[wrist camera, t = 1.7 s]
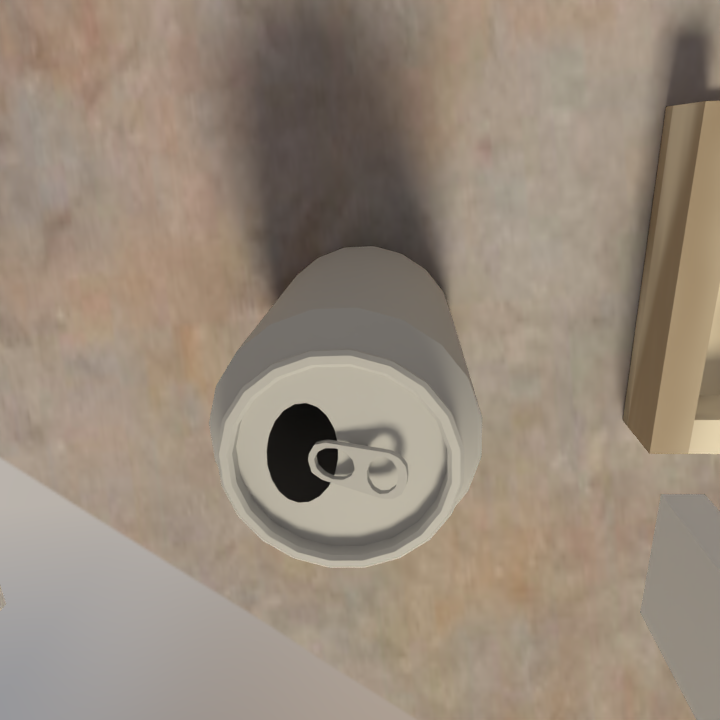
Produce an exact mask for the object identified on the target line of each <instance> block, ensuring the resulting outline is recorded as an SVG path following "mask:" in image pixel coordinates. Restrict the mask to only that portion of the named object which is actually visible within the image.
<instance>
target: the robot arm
mask: <svg viewBox="0 0 720 720" xmlns="http://www.w3.org/2000/svg"><path fill="white" fill-rule="evenodd" d="M5 605H6V602H5V599H4V596H3V593H2V590H1V586H0V611H1V609H2V608H3V607H4V606H5ZM640 613H641V615H642V617H643V619H644V621H645V622H646V624H647V626H648V628H649V630H650V632H651V634H652V636H653V638H654V640H655V642H656V643H657V645H658V647H659V649H660V651H661V653H662V655H663V657H664V659H665V661H666V663H667V665H668V666H669V668H670V670H671V672H672V674H673V676H674V678H675V680H676V682H677V684H678V686H679V687H680V689H681V691H682V693H683V695H684V697H685V699H686V701H687V703H688V705H689V707H690V708H691V710H692V712H693V714H694V716H695V718H696V720H720V511H719V510H718V509H717V508H716V507H715V506H714V504H713V503H712V502H711V501H710V500H709V499H708V498H707V496H706V495H705V494H661V498H660V503H659V509H658V515H657V521H656V526H655V532H654V538H653V543H652V549H651V555H650V560H649V566H648V572H647V577H646V583H645V589H644V594H643V600H642V606H641V611H640Z"/></svg>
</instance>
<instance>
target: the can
mask: <svg viewBox="0 0 720 720" xmlns="http://www.w3.org/2000/svg"><path fill="white" fill-rule="evenodd" d="M209 426H210V432H211V438H212V444H213V450H214V457H215V461H216V463H217V465H218V467H219V473H220V480H221V486H222V487H223V489H224V491H225V493H226V495H227V497H228V499H229V501H230V503H231V504H232V506H233V508H234V510H235V512H236V514H237V516H238V517H239V518H240V519H241V520H242V521H243V522H244V523H245V524H246V525H247V526H248V527H249V528H250V529H251V530H252V531H253V532H254V533H255V534H256V535H257V536H258V537H259V538H260V539H261V540H262V541H264V542H266V543H267V544H269V545H271V546H273V547H274V548H276V549H278V550H280V551H282V552H283V553H285V554H287V555H289V556H291V557H292V558H294V559H298V560H302V561H306V562H310V563H314V564H318V565H321V566H325V567H329V568H335V567H369V566H373V565H376V564H380V563H384V562H387V561H391V560H395V559H398V558H401V557H402V556H404V555H406V554H407V553H409V552H411V551H412V550H414V549H416V548H417V547H419V546H420V545H422V544H424V543H425V542H427V541H429V540H430V539H431V538H432V537H433V535H434V534H435V533H436V532H437V531H438V530H439V528H440V527H441V526H442V525H443V524H444V523H445V521H446V520H447V519H448V518H449V517H450V516H451V514H452V512H453V510H454V507H455V506H456V505H457V504H458V502H459V501H460V500H461V499H462V498H463V497H464V495H465V494H466V493H467V492H468V490H469V487H470V484H471V482H472V479H473V477H474V474H475V472H476V469H477V467H478V464H479V461H480V459H481V455H482V415H481V412H480V408H479V405H478V402H477V398H476V395H475V392H474V388H473V385H472V382H471V379H470V375H469V372H468V369H467V365H466V362H465V359H464V355H463V352H462V349H461V345H460V342H459V339H458V335H457V332H456V329H455V325H454V322H453V319H452V316H451V313H450V310H449V307H448V304H447V301H446V298H445V296H444V293H443V291H442V290H441V288H440V287H439V286H438V285H437V283H436V282H435V281H434V279H433V278H432V277H431V276H430V274H429V273H428V272H427V270H426V269H424V268H423V267H421V266H420V265H418V264H417V263H415V262H414V261H412V260H410V259H409V258H407V257H406V256H404V255H403V254H401V253H397V252H394V251H390V250H386V249H383V248H379V247H375V246H365V247H345V248H342V249H339V250H337V251H334V252H332V253H329V254H326V255H324V256H321V257H318V258H317V259H316V260H315V261H314V262H312V263H311V264H310V265H309V266H307V267H306V268H305V269H304V270H303V271H301V272H300V273H299V274H298V275H297V276H296V277H295V278H294V279H293V281H292V282H291V283H290V285H289V286H288V287H287V288H286V290H285V291H284V292H283V293H282V295H281V296H280V297H279V299H278V300H277V301H276V302H275V304H274V305H273V306H272V307H271V309H270V310H269V311H268V312H267V314H266V315H265V316H264V318H263V319H262V320H261V321H260V323H259V324H258V325H257V326H256V328H255V329H254V330H253V332H252V333H251V334H250V335H249V337H248V338H247V339H246V340H245V342H244V343H243V344H242V346H241V347H240V348H239V349H238V351H237V352H236V354H235V355H234V357H233V359H232V360H231V362H230V364H229V365H228V367H227V369H226V370H225V372H224V374H223V375H222V377H221V379H220V380H219V382H218V383H217V385H216V390H215V395H214V400H213V405H212V411H211V416H210V421H209Z"/></svg>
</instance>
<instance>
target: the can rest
mask: <svg viewBox="0 0 720 720" xmlns="http://www.w3.org/2000/svg"><path fill="white" fill-rule="evenodd" d="M623 421H624V423H625V424H626V425H627V426H628V428H629V429H630V430H631V431H632V433H633V434H634V435H635V436H636V437H637V439H638V440H639V441H640V442H641V444H642V445H643V446H644V447H645V449H646V450H647V451H648V452H649V454H720V101H703V102H696V103H689V104H682V105H675V106H668V107H666V110H665V118H664V125H663V132H662V140H661V147H660V154H659V161H658V169H657V176H656V183H655V190H654V198H653V205H652V212H651V219H650V227H649V234H648V241H647V248H646V256H645V263H644V270H643V277H642V285H641V292H640V299H639V306H638V314H637V321H636V328H635V335H634V343H633V350H632V357H631V364H630V372H629V379H628V386H627V393H626V401H625V408H624V415H623Z"/></svg>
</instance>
